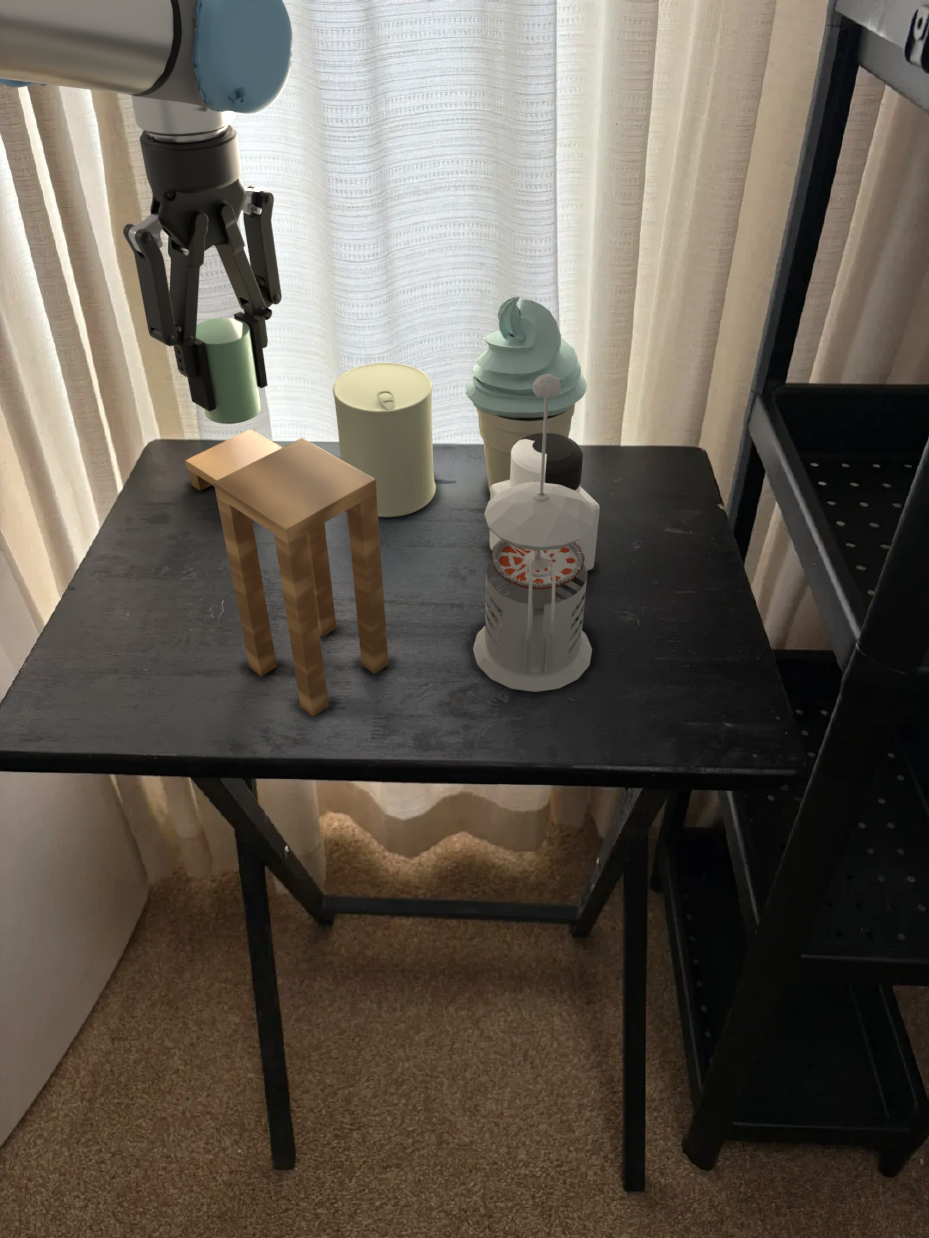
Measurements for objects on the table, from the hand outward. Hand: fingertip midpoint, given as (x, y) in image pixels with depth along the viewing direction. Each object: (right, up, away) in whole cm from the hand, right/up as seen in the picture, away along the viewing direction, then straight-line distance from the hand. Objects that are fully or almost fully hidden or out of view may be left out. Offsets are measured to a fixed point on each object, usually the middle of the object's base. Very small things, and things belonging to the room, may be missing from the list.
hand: (230, 393), depth 97 cm
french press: (+27, -24, -12) cm, 38 cm away
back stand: (0, -8, +7) cm, 10 cm away
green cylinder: (0, -1, +1) cm, 2 cm away
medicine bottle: (+29, -16, -2) cm, 33 cm away
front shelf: (+10, -25, -12) cm, 29 cm away
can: (+14, -8, +6) cm, 18 cm away
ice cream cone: (+27, -8, +7) cm, 29 cm away
